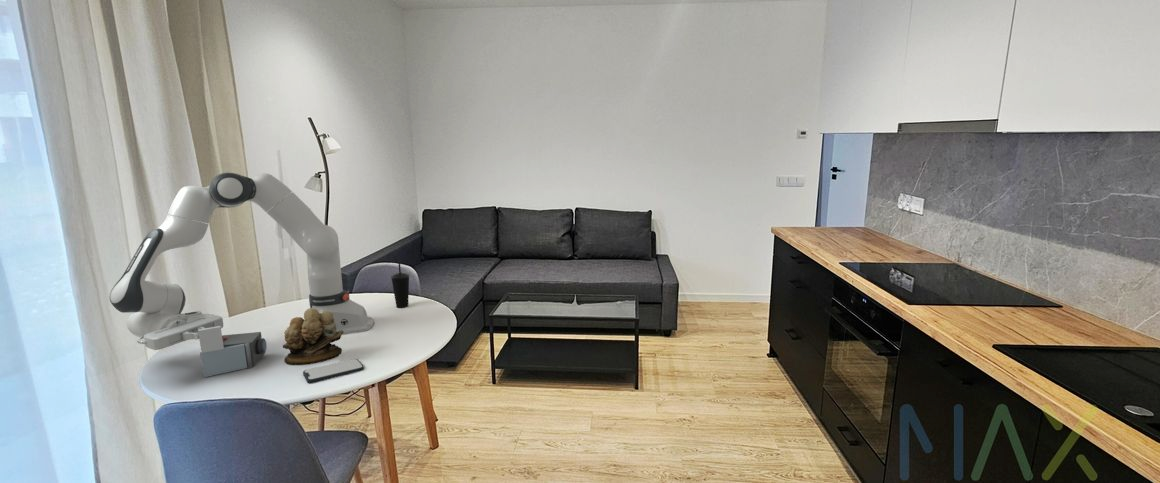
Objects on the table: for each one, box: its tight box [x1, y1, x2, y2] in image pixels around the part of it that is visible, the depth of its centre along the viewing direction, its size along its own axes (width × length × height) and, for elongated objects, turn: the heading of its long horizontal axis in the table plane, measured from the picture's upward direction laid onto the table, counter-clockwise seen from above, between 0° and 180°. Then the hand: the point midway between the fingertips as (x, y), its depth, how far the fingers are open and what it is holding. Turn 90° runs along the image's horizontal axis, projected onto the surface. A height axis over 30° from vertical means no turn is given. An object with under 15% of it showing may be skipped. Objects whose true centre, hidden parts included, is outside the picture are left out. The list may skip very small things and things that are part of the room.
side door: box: [198, 326, 254, 378], centre depth 157 cm, size 12×1×15 cm, turn 125°
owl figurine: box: [282, 307, 344, 366], centre depth 168 cm, size 18×12×17 cm, turn 119°
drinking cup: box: [390, 260, 411, 309], centre depth 219 cm, size 8×8×20 cm
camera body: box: [222, 331, 267, 368], centre depth 165 cm, size 15×10×9 cm, turn 106°
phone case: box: [302, 358, 365, 385], centre depth 159 cm, size 9×2×16 cm
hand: (203, 335), depth 154 cm, fingers closed
